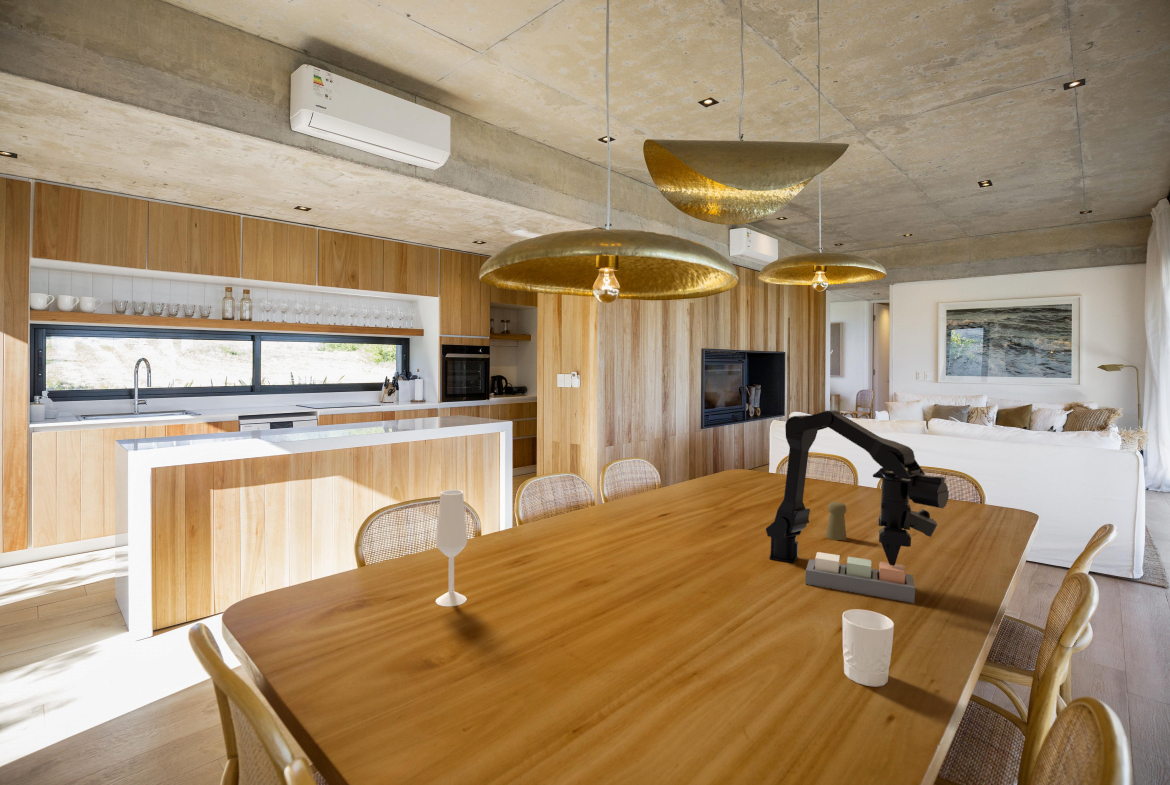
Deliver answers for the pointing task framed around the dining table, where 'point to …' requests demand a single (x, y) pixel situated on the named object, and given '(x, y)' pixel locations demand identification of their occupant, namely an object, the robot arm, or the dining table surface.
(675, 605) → the dining table surface
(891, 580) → the terracotta key
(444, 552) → the champagne flute
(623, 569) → the dining table surface
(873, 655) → the white cup
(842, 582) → the keypad
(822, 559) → the cream key
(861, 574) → the sage key
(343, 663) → the dining table surface
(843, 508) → the olive pepper mill
